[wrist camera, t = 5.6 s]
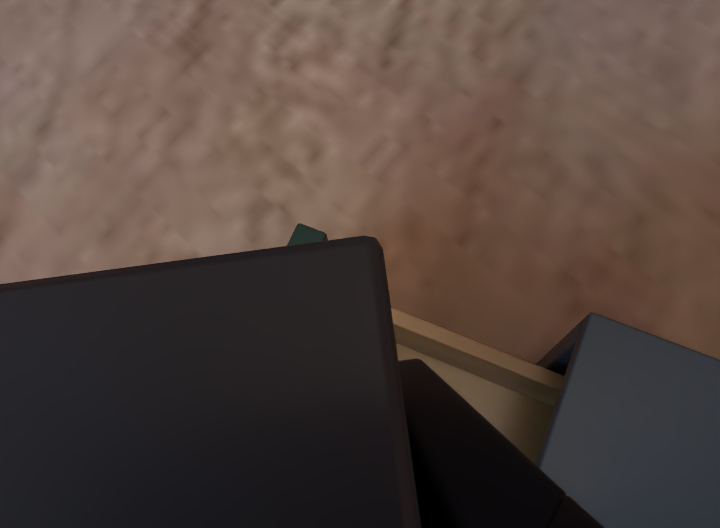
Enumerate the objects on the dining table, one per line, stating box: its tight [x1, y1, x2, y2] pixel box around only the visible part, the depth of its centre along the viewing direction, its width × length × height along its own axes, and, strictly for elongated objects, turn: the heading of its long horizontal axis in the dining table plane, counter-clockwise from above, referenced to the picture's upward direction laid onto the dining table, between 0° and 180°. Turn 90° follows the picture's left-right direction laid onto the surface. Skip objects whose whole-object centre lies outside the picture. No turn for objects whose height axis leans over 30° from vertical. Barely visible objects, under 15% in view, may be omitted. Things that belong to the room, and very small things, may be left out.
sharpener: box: [0, 236, 486, 528], centre depth 9 cm, size 5×4×14 cm
